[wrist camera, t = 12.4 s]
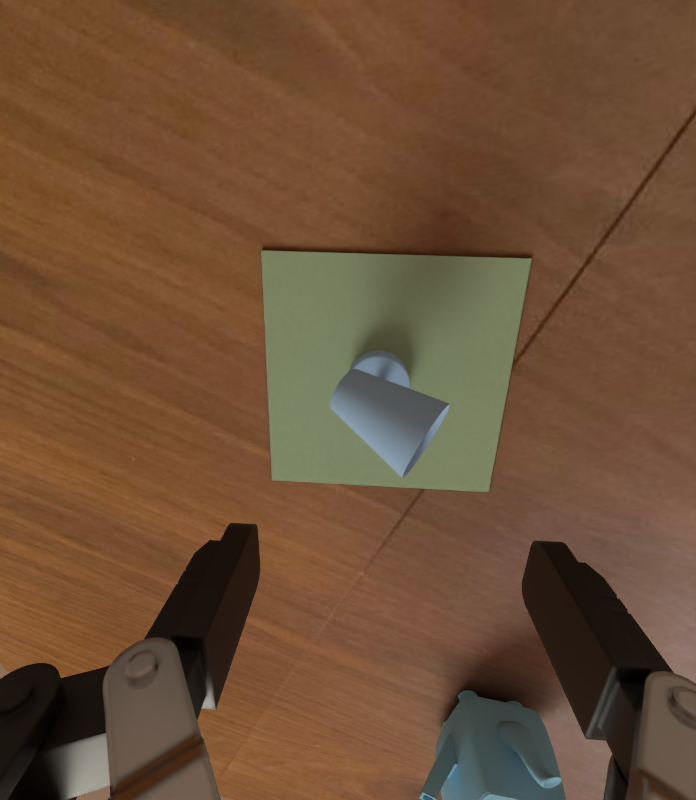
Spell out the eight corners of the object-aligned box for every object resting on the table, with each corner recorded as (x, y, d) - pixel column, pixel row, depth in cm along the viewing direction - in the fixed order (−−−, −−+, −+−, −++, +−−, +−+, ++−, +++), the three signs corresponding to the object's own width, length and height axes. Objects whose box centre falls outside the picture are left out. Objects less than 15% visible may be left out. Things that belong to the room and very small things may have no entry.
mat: (261, 250, 26) (261, 250, 26) (530, 258, 25) (531, 258, 25) (272, 478, 32) (271, 480, 32) (488, 490, 31) (488, 492, 31)
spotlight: (440, 372, 28) (355, 332, 27) (476, 429, 18) (348, 370, 18) (409, 427, 29) (328, 391, 29) (427, 505, 20) (308, 454, 19)
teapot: (504, 774, 44) (541, 913, 35) (389, 748, 44) (394, 882, 34) (574, 673, 38) (642, 810, 29) (440, 642, 37) (464, 771, 28)
